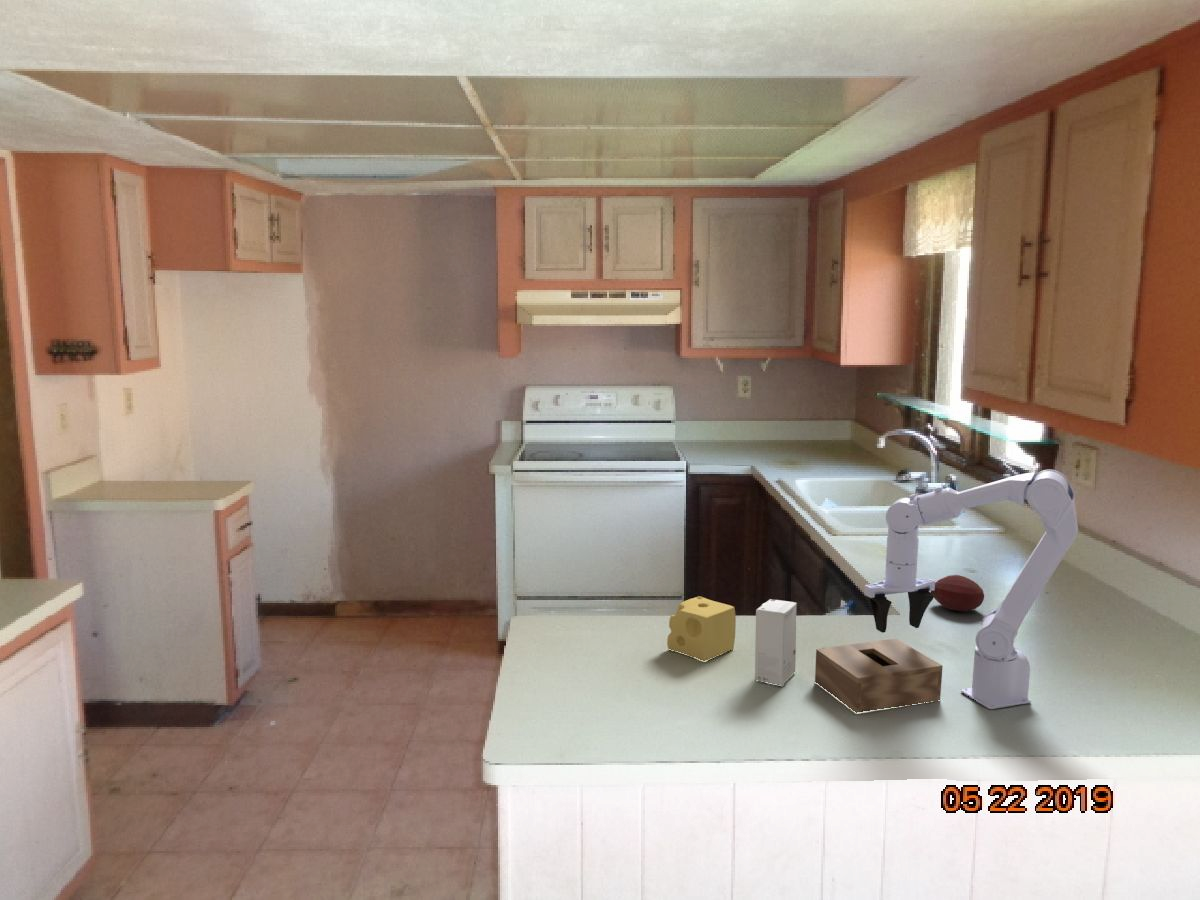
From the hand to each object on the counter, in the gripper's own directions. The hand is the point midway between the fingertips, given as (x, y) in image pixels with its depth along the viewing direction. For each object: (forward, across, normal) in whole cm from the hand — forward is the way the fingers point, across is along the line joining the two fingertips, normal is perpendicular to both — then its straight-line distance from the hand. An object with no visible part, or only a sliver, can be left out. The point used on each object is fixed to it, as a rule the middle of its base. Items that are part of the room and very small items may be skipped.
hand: (897, 628), depth 176 cm
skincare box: (+11, +22, -8) cm, 26 cm away
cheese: (+11, +30, -25) cm, 40 cm away
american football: (+11, -38, -29) cm, 49 cm away
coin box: (+10, +7, +4) cm, 13 cm away
